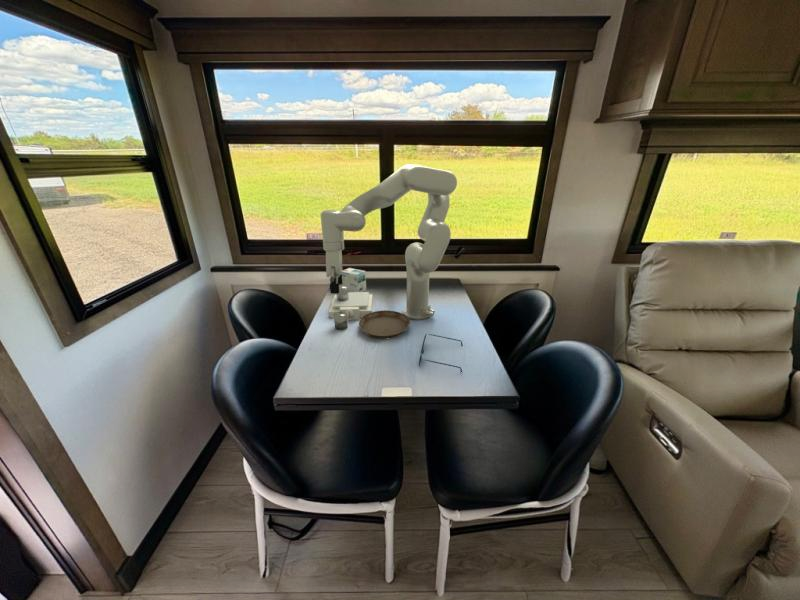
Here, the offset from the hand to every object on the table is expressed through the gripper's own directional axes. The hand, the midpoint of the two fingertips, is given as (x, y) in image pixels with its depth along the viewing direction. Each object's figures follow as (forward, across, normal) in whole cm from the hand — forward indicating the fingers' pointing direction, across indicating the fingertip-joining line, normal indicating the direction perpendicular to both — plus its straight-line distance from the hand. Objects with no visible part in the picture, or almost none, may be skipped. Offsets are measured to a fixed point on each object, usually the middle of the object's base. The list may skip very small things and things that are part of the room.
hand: (336, 288), depth 128 cm
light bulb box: (+17, -39, +3) cm, 43 cm away
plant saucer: (+18, +1, +18) cm, 26 cm away
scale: (+17, -17, +4) cm, 24 cm away
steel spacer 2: (+17, 0, +1) cm, 17 cm away
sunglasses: (+18, +22, +38) cm, 48 cm away
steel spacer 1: (+12, -18, 0) cm, 22 cm away
